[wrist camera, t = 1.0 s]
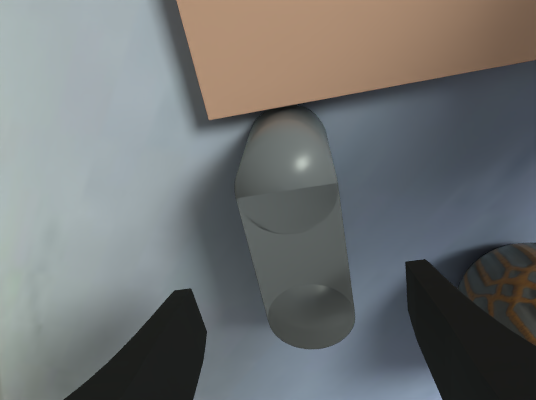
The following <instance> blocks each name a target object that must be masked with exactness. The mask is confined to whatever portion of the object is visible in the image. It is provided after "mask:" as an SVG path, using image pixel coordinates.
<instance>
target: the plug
mask: <svg viewBox="0 0 536 400" xmlns="http://www.w3.org/2000/svg"><path fill="white" fill-rule="evenodd" d="M234 187H235V196H236V201H237V205H238V208H239V212H240V216H241V220H242V223H243V227H244V231H245V235H246V238H247V242H248V246H249V250H250V254H251V257H252V261H253V265H254V269H255V272H256V276H257V280H258V284H259V287H260V291H261V295H262V299H263V303H264V306H265V310H266V314H267V318H268V321H269V325H270V327H271V329H272V331H273V332H274V334H275V335H276V336H277V337H278V338H279V339H281V340H282V341H284V342H285V343H287V344H289V345H291V346H294V347H298V348H303V349H321V348H326V347H329V346H332V345H334V344H337V343H338V342H340V341H342V340H343V339H344V338H345V337H346V336H347V335H348V334H349V333H350V332H351V330H352V328H353V326H354V323H355V310H354V303H353V295H352V288H351V280H350V272H349V265H348V257H347V249H346V242H345V234H344V227H343V219H342V211H341V204H340V196H339V189H338V182H337V177H336V173H335V168H334V164H333V160H332V156H331V151H330V147H329V143H328V138H327V134H326V130H325V128H324V125H323V124H322V122H321V120H320V119H319V118H318V117H317V116H316V115H315V114H314V113H313V112H312V111H310V110H308V109H307V108H305V107H302V106H299V105H289V106H283V107H278V108H273V109H268V110H266V111H265V112H263V113H262V114H261V115H260V116H259V117H258V118H257V120H256V121H255V122H254V124H253V126H252V128H251V131H250V134H249V137H248V140H247V144H246V147H245V150H244V153H243V156H242V159H241V162H240V165H239V169H238V172H237V175H236V179H235V186H234Z"/></svg>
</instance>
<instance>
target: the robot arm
mask: <svg viewBox="0 0 536 400" xmlns="http://www.w3.org/2000/svg"><path fill="white" fill-rule="evenodd" d="M405 264H406V283H407V302H408V312H409V316H410V319H411V322H412V326H413V329H414V332H415V336H416V339H417V341H418V344H419V346H420V349H421V351H422V353H423V356H424V358H425V360H426V363H427V365H428V367H429V369H430V372H431V374H432V376H433V379H434V381H435V383H436V386H437V388H438V390H439V393H440V395H441V397H442V399H443V400H536V346H535V345H534V344H532V343H530V342H529V341H527V340H525V339H524V338H522V337H521V336H519V335H518V334H516V333H515V332H513V331H511V330H510V329H509V328H507V327H506V326H504V325H503V324H501V323H500V322H499V321H497V320H496V319H495V318H493V317H492V316H491V315H489V314H488V313H487V312H485V311H484V310H483V309H481V308H480V307H479V306H478V305H476V304H475V303H474V302H473V301H471V300H470V299H469V298H468V297H467V296H465V295H464V294H463V293H462V292H461V291H460V290H458V289H457V288H456V287H455V286H454V285H453V284H452V283H451V282H449V281H448V280H447V279H446V278H445V277H444V276H443V275H442V274H441V273H440V272H439V271H438V270H437V269H435V268H434V267H433V266H432V265H431V264H430V263H429V262H428V261H427V260H425V259H424V260H416V261H408V262H405ZM206 336H207V331H206V328H205V325H204V322H203V320H202V317H201V314H200V311H199V309H198V306H197V303H196V300H195V298H194V295H193V292H192V289H183V290H175V291H174V292H173V293H172V294H171V295H170V296H169V297H168V298H167V299H166V300H165V302H164V303H163V304H162V305H161V306H160V307H159V308H158V310H157V311H156V312H155V313H154V314H153V315H152V316H151V318H150V319H149V320H148V321H147V322H146V323H145V324H144V325H143V327H142V328H141V329H140V330H139V331H138V332H137V333H136V334H135V335H134V336H133V337H132V338H131V340H130V341H129V342H128V343H127V344H126V345H125V346H124V347H123V348H122V349H121V350H120V351H119V352H118V353H117V354H116V355H115V356H114V357H113V358H112V359H111V360H110V361H109V362H108V363H107V364H106V365H105V366H103V367H102V368H101V369H100V370H99V371H98V372H97V373H96V374H95V375H93V376H92V377H91V378H90V379H89V380H88V381H86V382H85V383H84V384H83V385H82V386H80V387H79V388H78V389H77V390H75V391H74V392H73V393H71V394H70V395H69V396H68V397H66V398H65V399H64V400H193V398H194V394H195V391H196V387H197V383H198V379H199V375H200V372H201V368H202V364H203V359H204V352H205V345H206Z"/></svg>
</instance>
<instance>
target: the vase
mask: <svg viewBox="0 0 536 400" xmlns="http://www.w3.org/2000/svg"><path fill="white" fill-rule="evenodd" d="M458 290H460V291H461V292H462V293H463V294H464V295H465V296H467V297H468V298H469V299H470V300H471V301H473V302H474V303H475V304H476V305H478V306H479V307H480V308H481V309H483V310H484V311H485V312H487V313H488V314H489V315H491V316H492V317H493V318H495V319H496V320H497V321H499V322H500V323H501V324H503V325H504V326H506V327H507V328H509V329H510V330H511V331H513V332H515V333H516V334H518V335H519V336H521V337H522V338H524V339H525V340H527V341H529V342H530V343H532V344H534V345H535V346H536V243H517V244H511V245H507V246H503V247H500V248H497V249H495V250H493V251H490V252H488V253H487V254H485V255H483V256H482V257H481V258H479V259H478V260H477V261H476V262H475V263H473V264H472V265H471V267H470V268H469V269H468V270H467V271H466V273H465V275H464V276H463V278H462V280H461V282H460V284H459V287H458Z"/></svg>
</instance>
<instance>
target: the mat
mask: <svg viewBox="0 0 536 400" xmlns="http://www.w3.org/2000/svg"><path fill="white" fill-rule="evenodd" d="M176 1H177V5H178V8H179V12H180V16H181V19H182V23H183V27H184V30H185V34H186V38H187V41H188V45H189V49H190V52H191V56H192V60H193V63H194V67H195V71H196V74H197V78H198V82H199V85H200V89H201V93H202V96H203V100H204V104H205V107H206V111H207V115H208V118H209V120H213V119H218V118H224V117H229V116H235V115H240V114H246V113H251V112H256V111H262V110H267V109H273V108H278V107H283V106H289V105H294V104H300V103H305V102H311V101H316V100H321V99H327V98H332V97H338V96H343V95H349V94H354V93H359V92H365V91H370V90H376V89H381V88H386V87H392V86H397V85H403V84H408V83H414V82H419V81H424V80H430V79H435V78H441V77H446V76H451V75H457V74H462V73H468V72H473V71H479V70H484V69H489V68H495V67H500V66H506V65H511V64H517V63H522V62H527V61H533V60H536V0H176Z"/></svg>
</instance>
